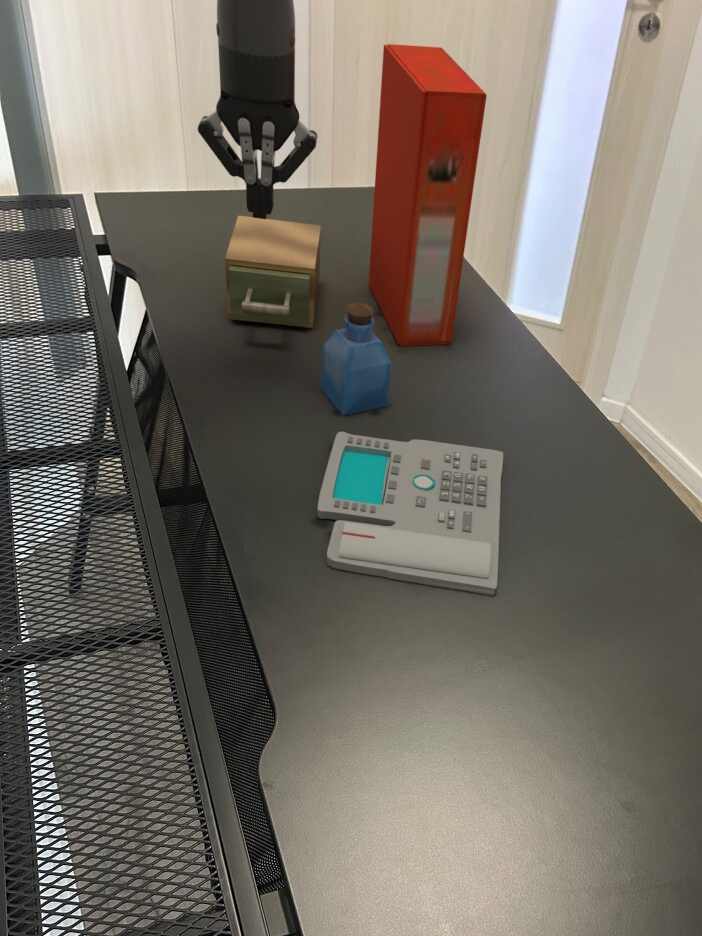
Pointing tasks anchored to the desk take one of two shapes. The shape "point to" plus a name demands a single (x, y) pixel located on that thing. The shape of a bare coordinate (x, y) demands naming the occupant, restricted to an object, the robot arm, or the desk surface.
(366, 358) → the perfume bottle
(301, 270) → the cabinet
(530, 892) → the desk surface
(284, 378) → the desk surface
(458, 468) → the office telephone
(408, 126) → the file binder
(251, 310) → the drawer
